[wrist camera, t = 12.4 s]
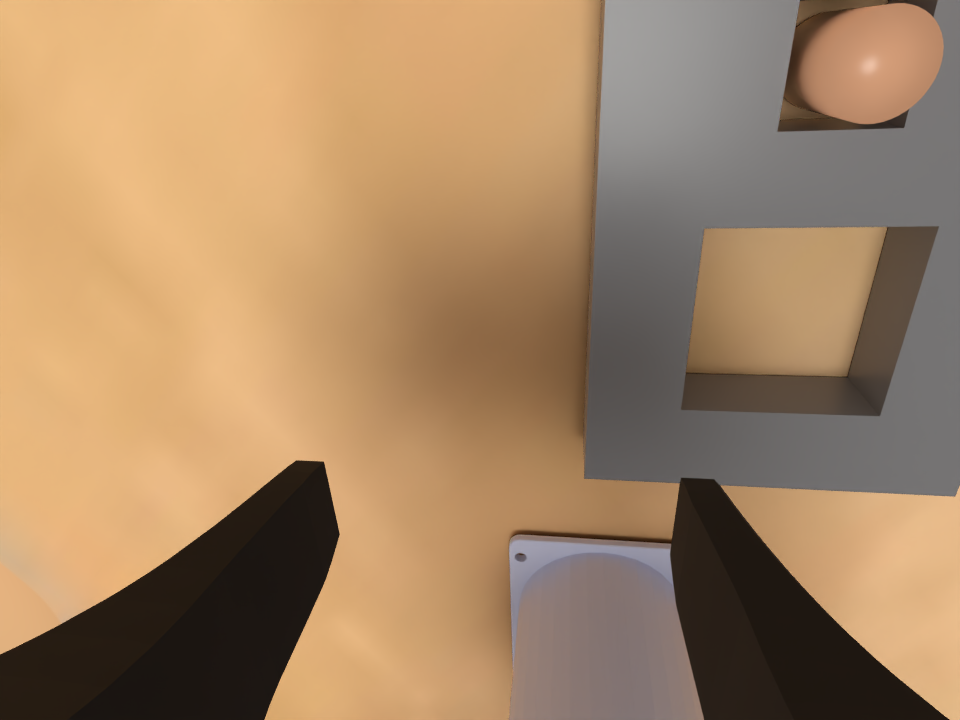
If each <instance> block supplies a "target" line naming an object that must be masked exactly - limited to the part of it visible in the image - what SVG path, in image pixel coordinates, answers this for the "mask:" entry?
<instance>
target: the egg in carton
mask: <svg viewBox="0 0 960 720" xmlns="http://www.w3.org/2000/svg"><path fill="white" fill-rule="evenodd" d="M943 49H944V45H943V37H942V32H941V30H940V27H939V25H938V23H937V22H936V20H935V19H934V18H933V17H932V15H931V14H929V13H928V12H927V11H926V10H924V9H922V8H920V7H918V6H915V5H912V4H906V3H894V4H886V5H878V6H870V7H862V8H854V9H846V10H838V11H830V12H824V13H820V14H818V15H815V16H813V17H811V18H809V19H807V20H806V21H805V22H803V23H802V24H800V25H799V26H798V27H797V28H796V29H795V32H794V38H793V44H792V49H791V55H790V61H789V67H788V73H787V78H786V84H785V90H784V97H785V98H786V99H787V101H789V102H790V103H791V104H793V105H795V106H797V107H800V108H803V109H806V110H810V111H813V112H817V113H821V114H824V115H828V116H831V117H835V118H839V119H842V120H846V121H849V122H853V123H858V124H875V123H880V122H884V121H887V120H890V119H892V118H895V117H897V116H899V115H900V114H902V113H904V112H905V111H907V110H908V109H910V108H911V107H912V106H913V105H915V104H916V103H917V102H918V101H919V100H920V99H921V98H922V97H923V96H924V95H925V93H926V92H927V91H928V89H929V88H930V87H931V85H932V83H933V82H934V80H935V78H936V76H937V74H938V72H939V69H940V66H941V63H942V58H943Z"/></svg>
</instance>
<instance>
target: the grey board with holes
mask: <svg viewBox="0 0 960 720" xmlns="http://www.w3.org/2000/svg"><path fill="white" fill-rule="evenodd" d="M800 1H803V0H601V14H600V39H599V63H598V87H597V112H596V136H595V161H594V185H593V210H592V234H591V259H590V283H589V308H588V332H587V357H586V381H585V406H584V430H583V449H584V479H603V480H624V481H644V482H665V483H680V480H681V478H703V479H714V480H715V481H716V482H717V483H718V484H719V485H727V486H748V487H769V488H789V489H810V490H831V491H851V492H872V493H893V494H914V495H934V496H955V495H956V493H957V490H958V488H959V486H960V0H889V1H888V4H894V3H906V4H912V5H915V6H918V7H920V8H922V9H924V10H926V11H927V12H928V13H929V14H931V15H932V17H933V18H934V19H935V20H936V22H937V23H938V25H939V27H940V30H941V32H942V37H943V45H944V49H943V58H942V63H941V66H940V69H939V72H938V74H937V76H936V78H935V80H934V82H933V83H932V85H931V87H930V88H929V89H928V91H927V92H926V93H925V95H924V96H923V97H922V98H921V99H920V100H919V101H918V102H917V103H916V104H915V105H913V106H912V107H911V108H910V109H908V110H907V111H905V112H904V113H902V114H900V115H899V116H897V117H895V118H892V119H890V120H887V121H884V122H880V123H875V124H858V123H853V122H849V121H846V120H842V119H839V118H827V119H796V120H779V119H780V113H781V107H782V102H783V96H784V90H785V84H786V78H787V73H788V67H789V61H790V55H791V49H792V44H793V38H794V32H795V26H796V20H797V15H798V9H799V3H800ZM804 227H888V231H887V234H886V238H885V242H884V245H883V249H882V253H881V256H880V260H879V264H878V267H877V271H876V275H875V278H874V282H873V286H872V290H871V293H870V297H869V301H868V304H867V308H866V312H865V315H864V319H863V323H862V326H861V330H860V334H859V337H858V341H857V345H856V348H855V352H854V356H853V359H852V363H851V367H850V370H849V374H848V377H814V376H772V375H730V374H687V373H686V366H687V358H688V351H689V343H690V335H691V327H692V320H693V312H694V304H695V296H696V288H697V281H698V273H699V265H700V257H701V249H702V242H703V234H704V228H804Z"/></svg>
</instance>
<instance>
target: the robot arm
mask: <svg viewBox="0 0 960 720" xmlns="http://www.w3.org/2000/svg"><path fill="white" fill-rule="evenodd" d="M339 535H340V534H339V529H338V524H337V520H336V515H335V511H334V506H333V501H332V497H331V492H330V488H329V483H328V478H327V474H326V469H325V465H324V462H319V461H297V460H296V461H295V462H294V463H292V464H291V465H290V466H288V467H287V468H286V469H284V470H283V471H282V472H281V473H279V474H278V475H277V476H276V477H274V478H273V479H272V480H271V481H270V482H268V483H267V484H266V485H265V486H263V487H262V488H261V489H260V490H259V491H257V492H256V493H255V494H254V495H252V496H251V497H250V498H249V499H247V500H246V501H245V502H244V503H242V504H241V505H240V506H239V507H237V508H236V509H235V510H234V511H232V512H231V513H230V514H229V515H227V516H226V517H225V518H224V519H222V520H221V521H220V522H219V523H217V524H216V525H215V526H213V527H212V528H211V529H209V530H208V531H207V532H205V533H204V534H203V535H201V536H200V537H198V538H197V539H196V540H194V541H193V542H192V543H190V544H189V545H188V546H186V547H185V548H184V549H182V550H181V551H179V552H178V553H177V554H175V555H174V556H173V557H171V558H170V559H168V560H167V561H165V562H164V563H163V564H161V565H160V566H158V567H157V568H155V569H154V570H152V571H151V572H149V573H148V574H146V575H144V576H143V577H141V578H140V579H138V580H136V581H135V582H133V583H132V584H130V585H129V586H127V587H125V588H124V589H122V590H121V591H119V592H117V593H116V594H114V595H112V596H111V597H109V598H107V599H106V600H104V601H102V602H100V603H98V604H96V605H95V606H93V607H91V608H89V609H87V610H86V611H84V612H82V613H80V614H78V615H77V616H75V617H73V618H71V619H69V620H68V621H66V622H64V623H62V624H60V625H59V626H57V627H55V628H54V629H51V630H49V631H47V632H45V633H43V634H41V635H40V636H38V637H35V638H33V639H32V640H29V641H28V642H25V643H23V644H21V645H19V646H18V647H16V648H13V649H11V650H9V651H7V652H5V653H3V654H0V720H264V719H265V717H266V714H267V711H268V708H269V705H270V703H271V700H272V698H273V695H274V693H275V691H276V688H277V686H278V683H279V681H280V679H281V677H282V674H283V672H284V670H285V668H286V666H287V663H288V661H289V659H290V657H291V655H292V653H293V650H294V648H295V646H296V644H297V642H298V640H299V637H300V635H301V633H302V631H303V629H304V627H305V624H306V622H307V620H308V618H309V616H310V614H311V611H312V609H313V607H314V605H315V602H316V600H317V598H318V596H319V594H320V591H321V589H322V587H323V585H324V582H325V580H326V577H327V574H328V571H329V568H330V565H331V562H332V559H333V555H334V552H335V548H336V545H337V542H338V538H339ZM517 553H523V554H525V555H519V554H517ZM509 562H510V594H511V626H512V658H513V679H512V690H511V700H510V711H509V720H949V719H948V718H946V717H945V716H944V715H943V714H941V713H940V712H939V711H938V710H936V709H935V708H934V707H933V706H932V705H930V704H929V703H928V702H927V701H925V700H924V699H923V698H922V697H920V696H919V695H918V694H917V693H916V692H914V691H913V690H912V689H911V688H909V687H908V686H907V685H906V684H904V683H903V682H902V681H901V680H900V679H898V678H897V677H896V676H895V675H894V674H892V673H891V672H890V671H889V670H888V669H887V668H886V667H884V666H883V665H882V664H881V663H880V662H879V661H877V660H876V659H875V658H874V657H873V656H872V655H871V654H870V653H869V652H868V651H866V650H865V649H864V648H863V647H862V646H861V645H860V644H859V643H858V642H857V641H856V640H855V639H854V638H852V637H851V636H850V635H849V634H848V633H847V632H846V631H845V630H844V629H843V628H842V627H841V626H840V625H839V624H838V623H837V622H836V621H835V620H834V619H833V618H832V617H831V616H830V615H829V614H828V613H827V612H826V611H825V610H824V609H823V608H822V607H821V606H820V605H819V604H818V603H817V602H816V601H815V600H814V598H813V597H812V596H811V595H810V594H809V593H808V592H807V591H806V590H805V589H804V588H803V587H802V586H801V585H800V583H799V582H798V581H797V580H796V579H795V578H794V577H793V576H792V575H791V573H790V572H789V571H788V570H787V569H786V568H785V567H784V565H783V564H782V563H781V562H780V561H779V560H778V558H777V557H776V556H775V555H774V554H773V553H772V551H771V550H770V549H769V548H768V547H767V545H766V544H765V543H764V542H763V541H762V539H761V538H760V537H759V536H758V535H757V533H756V532H755V531H754V530H753V528H752V527H751V526H750V524H749V523H748V522H747V521H746V519H745V518H744V517H743V516H742V514H741V513H740V512H739V510H738V509H737V508H736V506H735V505H734V504H733V502H732V501H731V500H730V498H729V497H728V496H727V494H726V493H725V492H724V490H723V489H722V488H721V486H720V485H719V484H718V483H717V482H716V481H715V480H714V479H703V478H681V480H680V487H679V494H678V501H677V508H676V515H675V522H674V529H673V536H672V543H671V544H667V543H651V542H634V541H618V540H602V539H586V538H570V537H554V536H538V535H515V536H513V537H512V538H511V539H510V544H509Z"/></svg>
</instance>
